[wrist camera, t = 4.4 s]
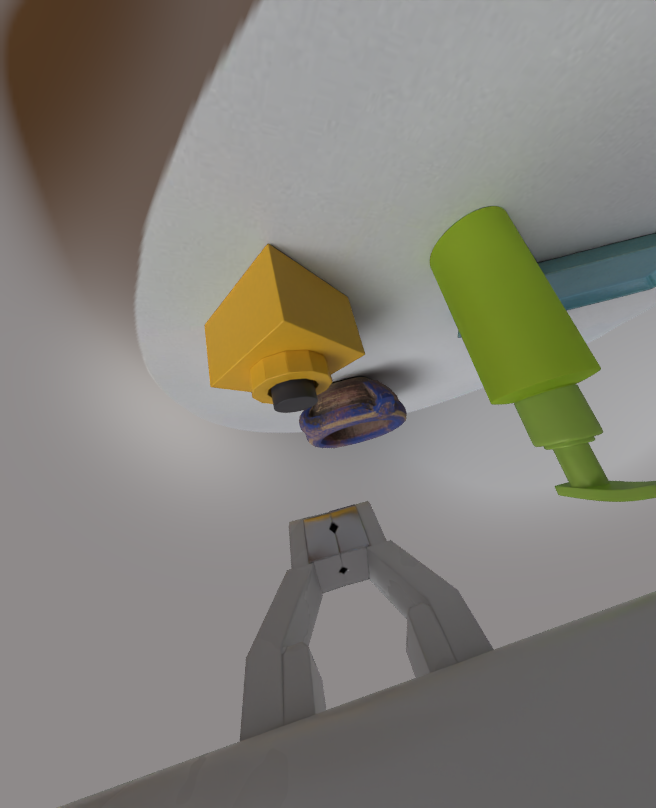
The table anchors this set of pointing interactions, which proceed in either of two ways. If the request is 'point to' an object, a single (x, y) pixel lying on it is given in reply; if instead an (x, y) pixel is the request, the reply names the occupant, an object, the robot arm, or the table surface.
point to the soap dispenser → (525, 346)
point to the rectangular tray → (603, 272)
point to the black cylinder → (294, 395)
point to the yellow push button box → (280, 329)
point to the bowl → (352, 413)
